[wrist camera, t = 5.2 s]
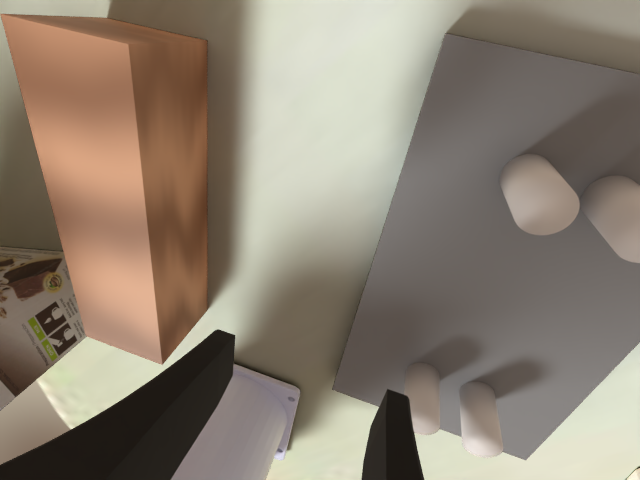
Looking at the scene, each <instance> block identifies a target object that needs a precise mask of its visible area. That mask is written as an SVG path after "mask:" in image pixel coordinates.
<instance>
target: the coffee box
mask: <svg viewBox="0 0 640 480" xmlns="http://www.w3.org/2000/svg"><path fill="white" fill-rule="evenodd" d="M86 337H87V336H86V335H85V331H84V327H83V323H82V320H81V316H80V312H79V308H78V305H77V301H76V297H75V293H74V289H73V286H72V282H71V278H70V274H69V271H68V267H67V263H66V259H65V256H64V252H60V251H47V250H35V249H22V248H9V247H0V411H1V410H2V409H3V408H4V407H5V406H6V405H8V404H9V402H11V401H12V400H13V399H14V398H15V397H16V396H18V395H19V394H20V393H21V392H22V391H24V390H25V389H26V388H27V387H28V386H29V385H31V384H32V383H33V382H34V381H35V380H36V379H37V378H39V377H40V376H41V375H42V374H44V373H45V372H46V371H47V370H48V369H49V368H50V367H52V366H53V365H54V364H55V363H56V362H58V361H59V360H60V359H61V358H62V357H63V356H64V355H66V354H67V353H68V352H69V351H70V350H71V349H72V348H74V347H75V346H76V345H77V344H78V343H80V342H81V341H82V340H83V339H84V338H86Z"/></svg>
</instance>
